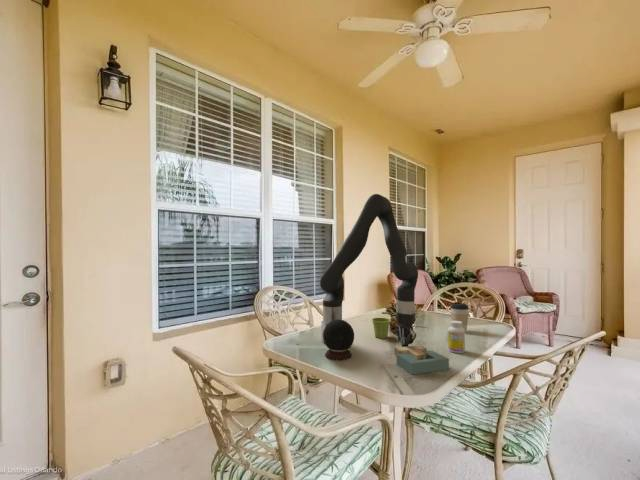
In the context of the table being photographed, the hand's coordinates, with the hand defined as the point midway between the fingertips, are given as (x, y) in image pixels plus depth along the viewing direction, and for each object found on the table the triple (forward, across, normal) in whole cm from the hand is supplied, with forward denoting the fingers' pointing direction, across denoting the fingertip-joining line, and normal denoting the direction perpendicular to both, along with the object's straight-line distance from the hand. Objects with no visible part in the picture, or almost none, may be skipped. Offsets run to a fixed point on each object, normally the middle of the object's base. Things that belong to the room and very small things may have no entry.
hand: (404, 352), depth 133 cm
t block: (+1, +8, -1) cm, 8 cm away
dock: (+1, +11, 0) cm, 11 cm away
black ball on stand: (+2, -9, -26) cm, 28 cm away
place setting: (+3, -35, +24) cm, 42 cm away
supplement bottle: (+2, +1, +25) cm, 25 cm away
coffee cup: (+2, -25, +49) cm, 55 cm away
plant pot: (+2, -28, +4) cm, 28 cm away
